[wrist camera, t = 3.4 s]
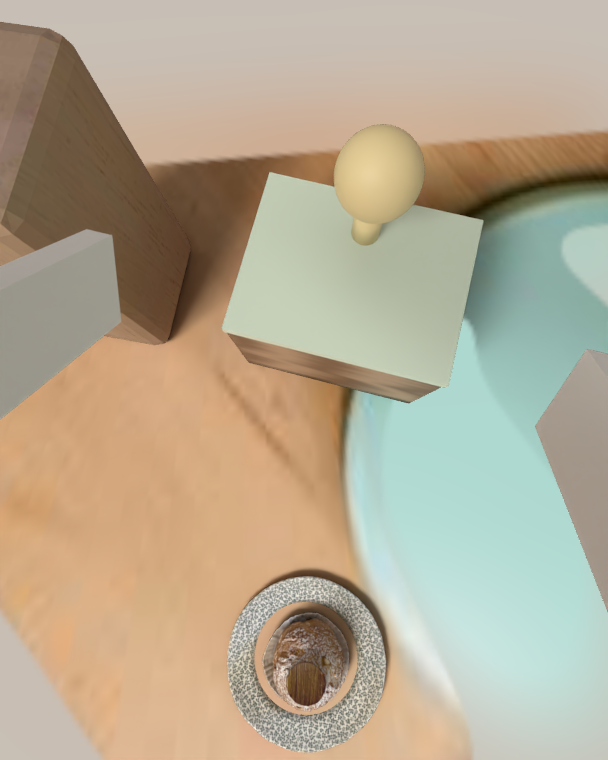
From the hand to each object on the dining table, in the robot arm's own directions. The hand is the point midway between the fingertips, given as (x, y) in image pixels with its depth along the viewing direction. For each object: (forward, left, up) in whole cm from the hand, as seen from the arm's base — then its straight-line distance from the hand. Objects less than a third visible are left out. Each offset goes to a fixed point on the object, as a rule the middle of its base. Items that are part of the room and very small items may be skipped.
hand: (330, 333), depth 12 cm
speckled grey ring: (+1, +19, -24) cm, 31 cm away
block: (+17, -11, -24) cm, 31 cm away
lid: (-2, -8, -14) cm, 17 cm away
